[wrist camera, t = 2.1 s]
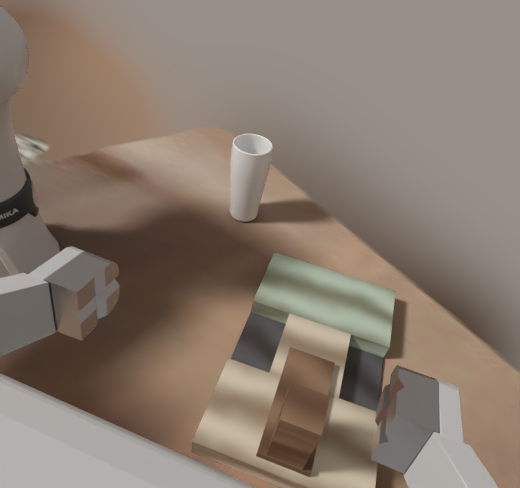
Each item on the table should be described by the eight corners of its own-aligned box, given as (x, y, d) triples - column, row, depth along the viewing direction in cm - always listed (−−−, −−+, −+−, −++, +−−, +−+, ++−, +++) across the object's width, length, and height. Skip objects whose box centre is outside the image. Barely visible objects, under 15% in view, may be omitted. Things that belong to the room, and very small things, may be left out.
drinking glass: (218, 210, 79) (223, 139, 69) (245, 198, 83) (254, 129, 73) (241, 230, 76) (250, 159, 66) (268, 217, 80) (281, 148, 69)
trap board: (363, 520, 45) (372, 512, 43) (191, 451, 48) (192, 441, 46) (388, 302, 68) (395, 290, 66) (271, 264, 71) (274, 251, 69)
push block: (309, 477, 45) (332, 439, 38) (255, 456, 46) (269, 415, 39) (332, 366, 55) (354, 321, 48) (288, 351, 56) (304, 304, 49)
